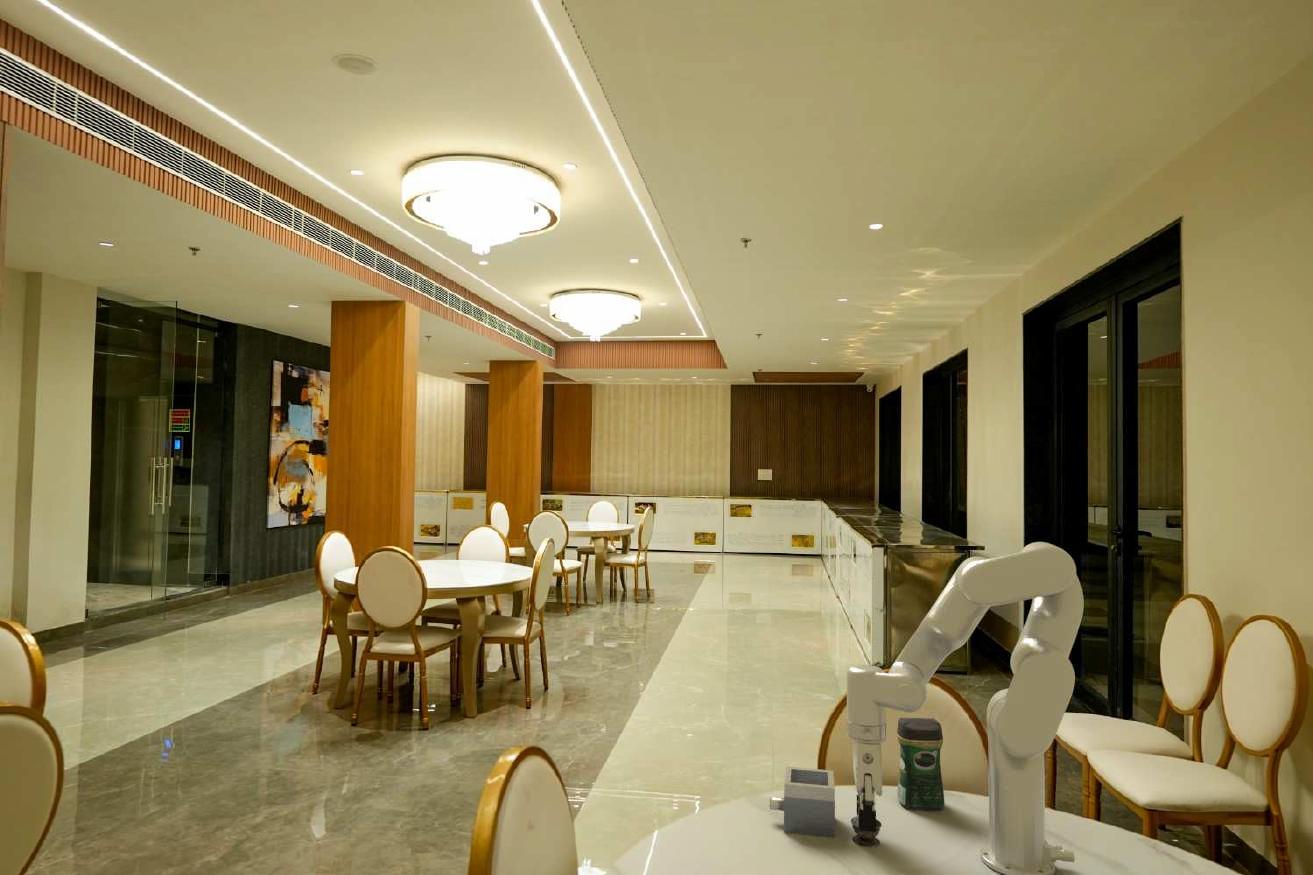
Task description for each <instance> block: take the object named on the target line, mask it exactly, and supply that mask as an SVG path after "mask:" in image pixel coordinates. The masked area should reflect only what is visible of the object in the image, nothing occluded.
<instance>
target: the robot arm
mask: <svg viewBox="0 0 1313 875" xmlns="http://www.w3.org/2000/svg"><path fill="white" fill-rule="evenodd" d="M1027 600H1032V601H1031V605H1030V610H1029V613H1028V615H1027V618H1026V621H1025V624H1024V626H1023V628H1022V631H1021V634H1020V636H1019V638H1018V640H1017V642H1016V645H1015V647H1014V649H1013V651H1012V653H1011V656H1010V669H1011V671H1012V673H1013V676H1012V679H1011V681H1010V684H1009V687H1008V688H1004V689H1001V690H998V691H997V692H996V693H995V694H994V695H993V696H992V697H991V698H990V701H989V702H988V704H987V709H986V731H987V732H986V733H987V745H988V746H987V747H988V837H989V838H988V843H986V844H984V845H983V846H982V847H980V853H979V854H980V855H979V856H980V859H981V861H982V862H983V863H984V864H985V865H986V866H987V867H989V868H990V869H992V870H993V871H996V872H998V873H1000V874H1003V875H1054V874H1055V873H1056V865H1055V863H1056V862H1057V861H1062V862H1067V863H1074V862H1075V860H1076V859H1075V858H1076V857H1075V853H1074V850H1071V849H1070V850H1069V849H1068V850H1067V849H1063V847H1062V844H1049V843H1048V842H1047V840H1046V814H1045V813H1046V803H1045V802H1046V801H1045V800H1046V799H1045V798H1046V797H1045V796H1046V795H1045V788H1046V787H1045V786H1046V785H1045V784H1046V781H1045V780H1046V778H1045V776H1046V774H1045V773H1046V772H1045V753H1046V751H1048V749H1050V746H1051V745H1052V743H1053V742H1054V739H1055V738H1056V735H1057V733H1058V729H1059V727H1060V725H1061V723H1062V720H1063V718H1064V715H1065V713H1066V711H1067V708H1068V706H1069V703H1070V700H1071V697H1072V696H1073V692H1074V687H1075V681H1076V677H1075V670H1074V666H1073V664H1072V662H1071V660H1070V659H1069V657H1070V654H1071V651H1072V648H1073V646H1074V644H1075V640H1076V638H1077V634H1078V632H1079V631H1078V630H1079V628H1080V626H1081V622H1082V619H1083V613H1084V608H1085V607H1084V606H1085V605H1084V594H1083V588H1082V585H1081V582H1080V579H1079V577H1078V575H1077V567H1076V563H1075V561H1074V559H1073V558H1072V556H1071V555H1070V554H1069V553H1068V552H1067V551H1065V550H1064V549H1063V548H1061V547H1059V546H1056V545H1054V544H1051V543H1049V542H1046V541H1045V542H1044V541H1036V542H1031V543H1029V544H1027V545H1025V546H1024V547H1023V548H1022V549H1021V550H1020V552H1015V553H1011V554H1007V555H1002V556H997V557H992V558H987V557H985V556H971V557H968V558H966V559H965V560H964V561H963V562H961V563H960V564H959V566H958V567H957V569H956V571H955V572H954V573H953V575H952V576H951V578H950V579H949V580H948V582H947V584H946V585H945V587H944V589H943V590H942V591H941V593H940V595H939V596H938V597H937V599H936V600H935V601H934V603H933V605H932V606H931V608H930V609H929V611H928V612H927V614H926V615H925V617H924V618H923V619H922V621H921V622H920V624H919V626H918V628H917V629H916V630H915V632H914V633H913V634H912V635H911V637H910V639H909V640H908V641H907V643H906V644H905V646H904V648H902V650H901V651H900V654H899V655H898V656H897V658H896V659H895V661H894V663H892V665H891V666H890V668H889V671H888V672H885V671H884V670H883V668H880V667H879V666H876V665H872V664H871V665H870V664H855V665H851V666H850V667H848V670H846V671H847V672H846V738H848V739H849V740H852V761H853V762H852V764H853V765H852V766H853V767H852V768H853V778H854V783H855V790H856V793H857V794H856V801H857V800H859V794H860V808H859V830H860V831H868V832H875V831H876V819H877V810H876V805H875V803H876V797H875V796H878V797H881V796H882V795H883V767H882V766H883V765H882V764H883V760H882V744H881V743H884V742H885V741H886V740H887V724H886V723H887V719H886V718H887V709H891V710H894V711H898V712H903V713H915V712H917V711H920V710H921V709H922V708H923V707H924V706H925V704H926V702H927V698H928V691H927V685H928V683H929V682H930V681H931V679H932V678H933V677H934V676H933V675H934V674H935V672H936V671H937V670H938V669H939V667H940V665H942V663H943V662H944V661H945V660H946V658H947V657H948V656H949V655H950V654H951V653H953V652H954V651H956V650H958V649H960V648H962V647H963V646H964V645H965V644H966V643H967V641H968V640H969V639H970V637H971V636H972V634H973V633H974V631H975V629H976V628H977V626H978V625H979V623H980V622H981V620H982V619H983V618H984V616H985V615H986V613H987V611H989V609H990V608H991V607H995V606H996V607H997V606H1002V605H1008V604H1014V603H1018V602H1022V601H1023V602H1024V601H1027ZM864 780H865V781H864ZM862 789H865V793H863V792H862ZM863 796H865V799H864V800H863ZM857 816H858V804H857V803H856V817H857Z"/></svg>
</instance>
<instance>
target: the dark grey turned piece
mask: <svg viewBox="0 0 1313 875" xmlns="http://www.w3.org/2000/svg"><path fill="white" fill-rule="evenodd" d="M864 781H865V780H864ZM862 792H863V793H865V789H862ZM858 795H859V800H857V799H856V805H857V804H858V816H857V815H856V816H854V817H852V818H851V819H850V823H851V826H852V828H853V831H854V833H855V835H854V836H852V837H851V838H852V839H851V841H852V842H853V844H855V845H857V846H859V847H864V848H870V849H871V848H876V847H879V846H880V845H881V841H880V839H879V838H878V837H877V836H878V835H879V833H880V831H881V828H882V825H883V824H882V822H881V821H880V820H878V819H877V818H876V831H875V832H868V831H860V830H859V808H860V794H858ZM864 799H865V796H863V800H864ZM876 804H877V803H876V802H875V806H876Z"/></svg>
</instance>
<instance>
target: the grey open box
mask: <svg viewBox="0 0 1313 875" xmlns="http://www.w3.org/2000/svg"><path fill="white" fill-rule="evenodd" d="M784 773H785V774H784V783H783V784H784V785H783V787H784V790H783V792H784V793H783V794H784V795H783V797H773V796H769V797H770V798H769V810H771V811H780V812H781V811H783V833H784V834H785V833H786V834H794V835H795V834H796V835H805V836H813V837H814V836H815V837H825V838H833V839H834V838H835V837H836V819H835V818H836V800H835V797H836V795H835V794H836V793H835V792H836V790H835V789H836V788H835V777H834V770H827V769H819V768H818V769H816V768H807V767H806V768H805V767H795V766H794V767H793V766H785V772H784Z"/></svg>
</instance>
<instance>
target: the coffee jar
mask: <svg viewBox="0 0 1313 875" xmlns="http://www.w3.org/2000/svg"><path fill="white" fill-rule="evenodd" d="M896 737H897V740H898V743H899V749H900V751H899V752H900V753H899V754H900V755H899V756H900V757H899V771H898V772H899V774H898V782H897V800H898V802H899V803H900V805H902V806H903V807H906V808H907V809H909V810H915V811H916V810H917V811H940V810H942V809H943V808H944V807H945V794H944V793H945V792H944V784H943V777H942V768H941V748H942V747H943V743H944V736H943V729H942V725H941V723H940V722H939V721H938V720H937V719H936V718H933V717H932V718H931V717H929V718H927V717H925V718H924V717H899V719H898V722H897V730H896Z"/></svg>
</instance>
